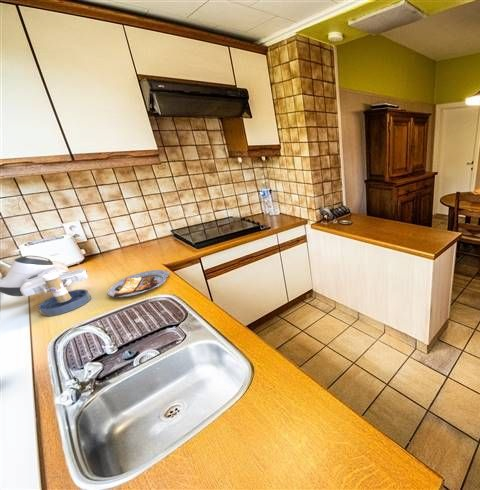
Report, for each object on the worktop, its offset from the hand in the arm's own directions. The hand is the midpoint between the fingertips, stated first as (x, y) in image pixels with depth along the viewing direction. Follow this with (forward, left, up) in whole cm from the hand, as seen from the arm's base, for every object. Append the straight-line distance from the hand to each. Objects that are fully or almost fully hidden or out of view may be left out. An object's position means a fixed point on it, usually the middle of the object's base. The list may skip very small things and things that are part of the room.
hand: (56, 287), depth 116 cm
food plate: (+26, -6, -10) cm, 28 cm away
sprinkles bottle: (0, +1, -7) cm, 7 cm away
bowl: (0, +1, -10) cm, 10 cm away
